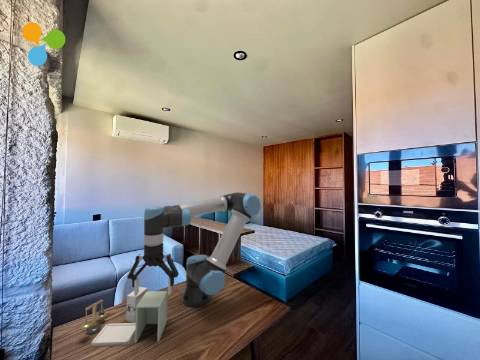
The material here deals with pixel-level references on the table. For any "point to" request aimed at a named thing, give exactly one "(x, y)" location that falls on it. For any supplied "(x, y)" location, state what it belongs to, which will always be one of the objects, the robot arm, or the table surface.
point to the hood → (151, 312)
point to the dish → (115, 335)
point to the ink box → (133, 304)
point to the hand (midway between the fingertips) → (153, 294)
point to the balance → (93, 319)
